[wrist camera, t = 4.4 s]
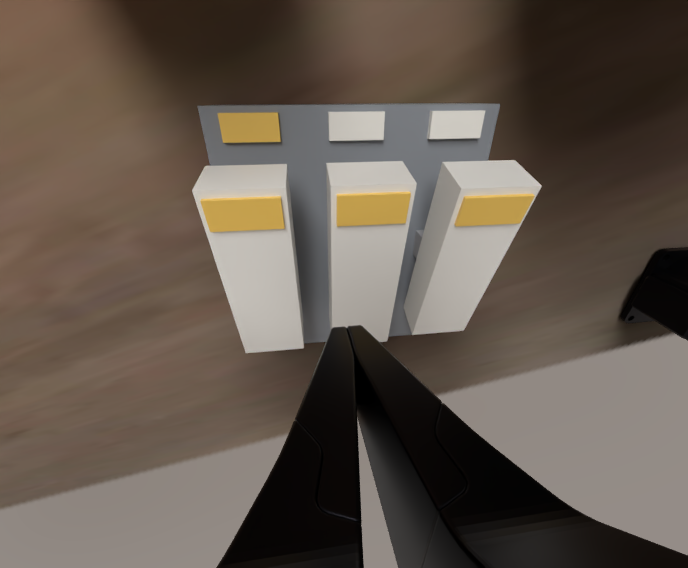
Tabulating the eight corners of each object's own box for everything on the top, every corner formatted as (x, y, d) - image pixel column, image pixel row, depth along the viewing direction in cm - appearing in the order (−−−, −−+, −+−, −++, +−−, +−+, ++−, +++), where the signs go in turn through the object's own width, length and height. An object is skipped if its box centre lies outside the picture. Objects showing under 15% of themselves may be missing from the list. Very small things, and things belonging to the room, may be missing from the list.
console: (469, 102, 16) (513, 104, 13) (434, 305, 23) (457, 341, 20) (214, 104, 15) (189, 106, 12) (255, 318, 22) (246, 359, 18)
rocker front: (286, 163, 12) (285, 189, 10) (303, 319, 18) (304, 350, 16) (204, 165, 12) (190, 192, 10) (250, 323, 18) (245, 355, 16)
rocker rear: (514, 159, 12) (544, 187, 11) (451, 303, 19) (464, 333, 18) (442, 161, 12) (462, 190, 11) (403, 306, 19) (412, 337, 17)
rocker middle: (402, 161, 12) (418, 185, 11) (379, 313, 18) (387, 343, 17) (326, 163, 12) (331, 188, 10) (329, 317, 18) (332, 348, 17)
